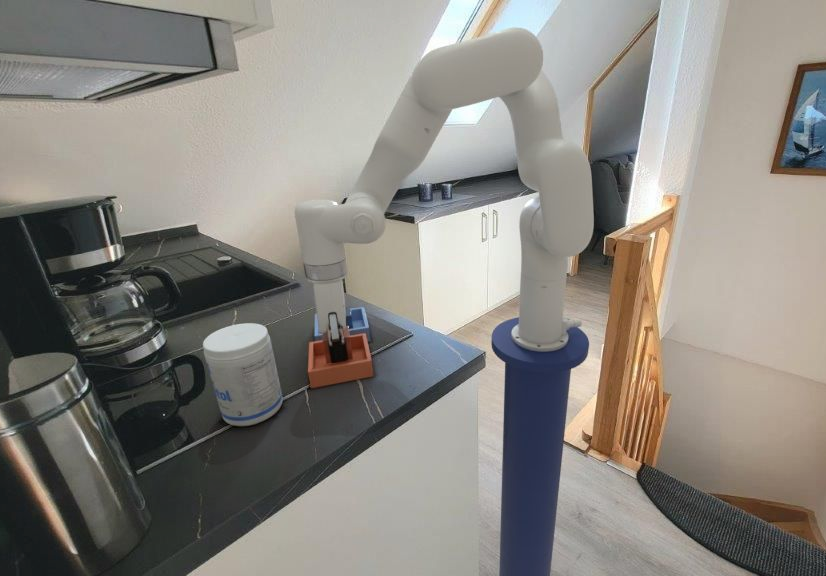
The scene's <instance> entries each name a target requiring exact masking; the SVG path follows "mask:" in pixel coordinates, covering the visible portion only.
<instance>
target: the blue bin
mask: <svg viewBox="0 0 826 576" xmlns="http://www.w3.org/2000/svg"><path fill="white" fill-rule="evenodd" d="M350 309H351V315H352V323H353V329H349V335H350V336H351V335H358V334H364V333H366V337H367V342H368V343H369V342H371V334H370V333H371V332H370V326H369V322H368V318H367V314H366V309H365V306H359V307H353V308H350ZM313 332H314V334H313V335H314V342H315V341H321V340H323V334H321V333H320V332H319V326H318V319H317V313H314V331H313Z"/></svg>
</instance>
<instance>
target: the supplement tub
mask: <svg viewBox="0 0 826 576" xmlns="http://www.w3.org/2000/svg"><path fill="white" fill-rule="evenodd" d="M202 349H203V355H204V359H205V363H206V366H207V370H208V372H209V376H210V380H211V384H212V387H213V391H214V394H215V397H216V401H217V404H218V407H219V411H220V414H221V418H222V419H223V421H224V422H225V423H226V424H229V425H231V426H235V427H249V426H253V425H257V424H259V423H262V422H264V421H266V420H268V419H269V418H271V417H273V416H274V415H275V414H276V413H277V412H278V411H279V410H280V408H281V406H282V404H283V399H284V398H283V393H282V388H281V383H280V379H279V373H278V369H277V364H276V359H275V355H274V350H273V346H272V339H271V337H270V335H269V332H268V329H267V327H266V326H265V325H263V324H260V323H253V322H246V323H238V324H232V325H229V326H226V327H223V328H220V329H218V330H215V331H213V332H212V333H210V334H209V335H208V336H206V338H205V339H204V340H203V342H202Z"/></svg>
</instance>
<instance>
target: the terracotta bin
mask: <svg viewBox="0 0 826 576" xmlns="http://www.w3.org/2000/svg"><path fill="white" fill-rule="evenodd" d="M350 342H351V349H352V356H353V359H349V360H347V361H343V362H337V363H326V358H325V352H324V346H323V340H321V341H315V340H314V341H309V343H308V358H307V359H308V362H307V376H308V379H309V385H310V389H315V388H319V387H320V388H321V387H325V386H331V385H335V384H341V383H347V382H351V381H355V380H361V379H366V378H371V377H374V368H373V361H372V356H371V351H370V345H369V342H367V337H366V333H364V334H358V335H351V336H350Z"/></svg>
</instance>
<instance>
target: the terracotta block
mask: <svg viewBox="0 0 826 576" xmlns="http://www.w3.org/2000/svg"><path fill="white" fill-rule="evenodd" d="M338 328H340V327H338ZM329 329H331V328H329ZM338 333H339V335H340V332H338ZM340 336H341V335H340ZM343 336H344V342H346V347H347V354H348V360H349V359H353V356H352V349H351V342H350V335H349V328H348V326H346V328H345V330H343ZM331 337H332V334H331ZM328 344H329V338H328V333H327V331H326V333H323V346H324V352H325V358H326V363H331V358H330V352H329V346H328Z"/></svg>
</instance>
